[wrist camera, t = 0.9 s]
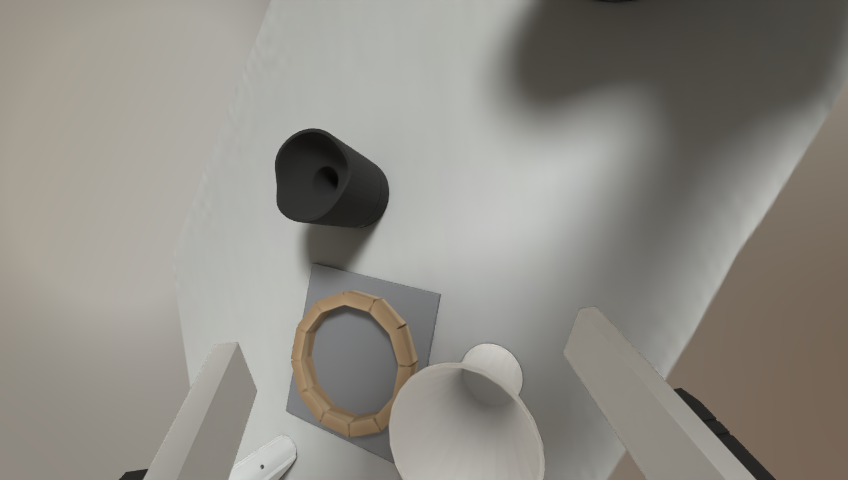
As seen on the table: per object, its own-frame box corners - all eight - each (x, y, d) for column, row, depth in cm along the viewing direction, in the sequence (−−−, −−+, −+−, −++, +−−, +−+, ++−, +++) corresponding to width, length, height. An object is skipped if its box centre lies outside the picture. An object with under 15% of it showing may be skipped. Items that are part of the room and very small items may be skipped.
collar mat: (315, 263, 42) (312, 263, 41) (440, 294, 35) (439, 295, 35) (289, 409, 42) (285, 411, 41) (409, 466, 36) (407, 469, 35)
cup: (525, 445, 31) (515, 570, 19) (432, 397, 35) (370, 475, 22) (557, 347, 31) (568, 408, 18) (458, 309, 35) (411, 338, 22)
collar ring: (315, 279, 41) (305, 280, 39) (427, 310, 35) (421, 312, 33) (294, 398, 41) (282, 405, 39) (402, 448, 35) (394, 459, 33)
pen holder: (319, 206, 42) (256, 191, 33) (354, 146, 41) (298, 112, 32) (367, 245, 39) (313, 240, 30) (407, 182, 38) (363, 156, 29)
